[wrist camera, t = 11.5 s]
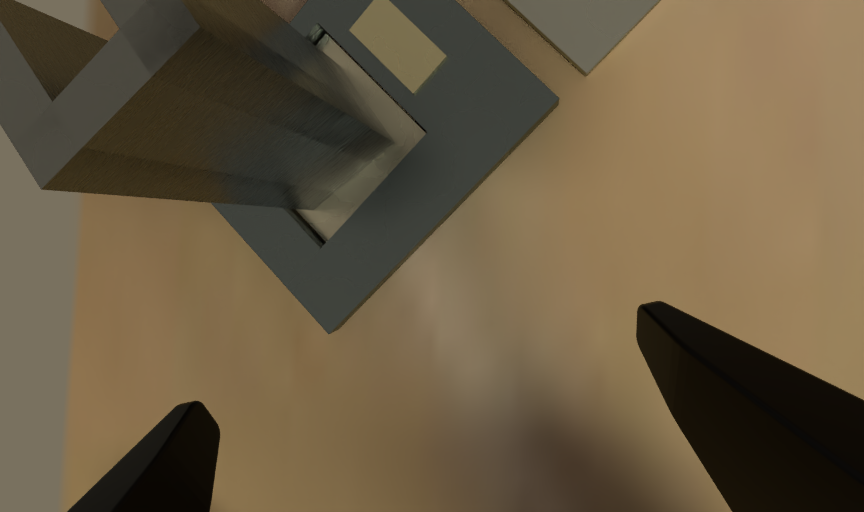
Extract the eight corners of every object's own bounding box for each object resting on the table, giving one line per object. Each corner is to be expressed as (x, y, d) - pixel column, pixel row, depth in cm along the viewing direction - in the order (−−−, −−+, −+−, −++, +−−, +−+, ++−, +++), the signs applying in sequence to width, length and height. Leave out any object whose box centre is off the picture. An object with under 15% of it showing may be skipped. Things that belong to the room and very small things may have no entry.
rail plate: (558, 105, 19) (559, 96, 18) (338, 329, 22) (326, 335, 20) (378, -65, 20) (368, -83, 19) (193, 168, 23) (174, 165, 22)
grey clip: (395, 143, 20) (199, 27, 9) (313, 210, 21) (41, 189, 10) (340, 65, 21) (80, -146, 9) (262, 136, 22) (-60, 28, 10)
